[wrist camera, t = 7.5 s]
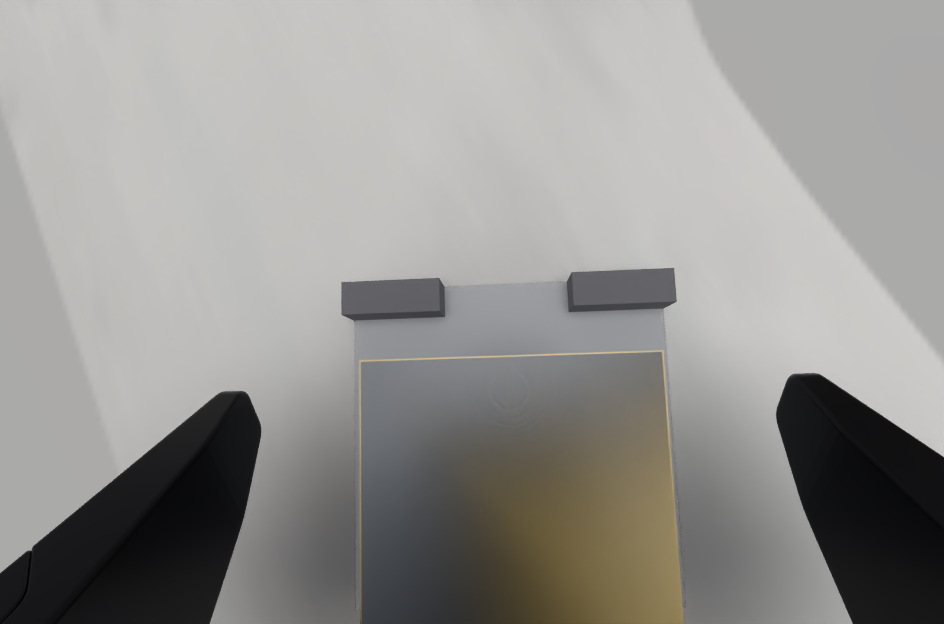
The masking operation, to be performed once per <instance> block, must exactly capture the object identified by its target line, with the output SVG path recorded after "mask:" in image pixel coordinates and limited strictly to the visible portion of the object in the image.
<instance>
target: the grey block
mask: <svg viewBox="0 0 944 624" xmlns="http://www.w3.org/2000/svg"><path fill="white" fill-rule="evenodd" d="M359 429H360V624H684V621H683V608H682V594H681V581H680V567H679V554H678V540H677V527H676V513H675V500H674V486H673V473H672V460H671V446H670V433H669V419H668V406H667V392H666V379H665V365H664V352H663V350H653V351H623V352H593V353H563V354H533V355H503V356H473V357H443V358H413V359H383V360H359Z"/></svg>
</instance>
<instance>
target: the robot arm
mask: <svg viewBox="0 0 944 624" xmlns="http://www.w3.org/2000/svg"><path fill="white" fill-rule="evenodd" d="M776 419H777V424H778V428H779V431H780V434H781V437H782V441H783V444H784V447H785V451H786V454H787V457H788V461H789V464H790V467H791V471H792V474H793V477H794V480H795V484H796V487H797V490H798V494H799V497H800V500H801V503H802V506H803V509H804V511H805V514H806V516H807V519H808V521H809V523H810V526H811V528H812V530H813V533H814V535H815V537H816V540H817V542H818V544H819V547H820V549H821V551H822V554H823V556H824V558H825V560H826V563H827V565H828V567H829V570H830V572H831V574H832V577H833V579H834V581H835V584H836V586H837V588H838V590H839V593H840V595H841V597H842V600H843V602H844V604H845V607H846V609H847V611H848V614H849V616H850V618H851V621H852V623H853V624H944V457H943V456H941V455H940V454H938V453H937V452H935V451H934V450H932V449H931V448H929V447H928V446H926V445H925V444H923V443H922V442H921V441H919V440H918V439H916V438H915V437H913V436H912V435H910V434H909V433H907V432H906V431H904V430H903V429H901V428H900V427H898V426H897V425H895V424H894V423H892V422H891V421H889V420H888V419H886V418H885V417H883V416H882V415H880V414H879V413H877V412H876V411H874V410H873V409H871V408H870V407H868V406H867V405H865V404H864V403H862V402H861V401H859V400H858V399H856V398H855V397H853V396H852V395H850V394H849V393H847V392H846V391H844V390H843V389H841V388H840V387H838V386H837V385H835V384H834V383H832V382H831V381H829V380H828V379H826V378H825V377H823V376H822V375H820V374H816V373H804V374H793V375H791V376H790V377H789V378H788V379H787V382H786V384H785V387H784V390H783V393H782V396H781V398H780V401H779V404H778V407H777V411H776ZM260 438H261V425H260V421H259V419H258V417H257V414H256V412H255V409H254V407H253V405H252V402H251V400H250V397H249V396H248V394H247V393H246V392H244V391H224V392H221V393H219V394H217V395H216V396H215V397H214V398H212V399H211V400H210V401H209V402H207V403H206V404H205V405H204V406H203V407H201V408H200V409H199V410H198V411H197V412H195V413H194V414H193V415H192V416H191V417H189V418H188V419H187V420H186V421H184V422H183V423H182V424H181V425H180V426H178V427H177V428H176V429H175V430H174V431H172V432H171V433H170V434H169V435H167V436H166V437H165V438H164V439H163V440H161V441H160V442H159V443H158V444H157V445H155V446H154V447H153V448H152V449H151V450H149V451H148V452H147V453H146V454H144V455H143V456H142V457H141V458H140V459H138V460H137V461H136V462H135V463H134V464H132V465H131V466H130V467H129V468H127V469H126V470H125V471H124V472H123V473H121V474H120V475H119V476H118V477H117V478H115V479H114V480H113V481H112V482H111V483H109V484H108V485H107V486H106V487H104V488H103V489H102V490H101V491H100V492H98V493H97V494H96V495H95V496H94V497H92V498H91V499H90V500H89V501H88V502H86V503H85V504H84V505H83V506H81V508H79V509H78V510H77V511H76V512H74V513H73V514H72V515H71V516H69V517H68V518H67V519H66V520H64V521H63V522H62V523H61V524H60V525H58V526H57V527H56V528H55V529H53V530H52V531H51V532H50V533H49V534H47V535H46V536H45V537H44V538H43V539H41V540H40V541H39V542H38V543H37V544H35V545H34V546H33V548H32V551H27V552H25V553H24V554H23V555H22V556H21V557H19V558H18V559H17V560H16V561H15V562H13V563H12V564H11V565H10V566H8V567H7V568H6V569H5V570H4V571H2V572H1V573H0V624H210V621H211V618H212V615H213V612H214V609H215V606H216V603H217V599H218V596H219V593H220V590H221V587H222V584H223V581H224V578H225V575H226V572H227V569H228V566H229V563H230V560H231V557H232V554H233V550H234V547H235V544H236V541H237V538H238V535H239V532H240V529H241V525H242V522H243V519H244V515H245V510H246V506H247V501H248V497H249V492H250V487H251V482H252V477H253V472H254V467H255V463H256V458H257V453H258V448H259V443H260Z"/></svg>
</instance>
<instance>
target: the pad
mask: <svg viewBox="0 0 944 624" xmlns="http://www.w3.org/2000/svg"><path fill="white" fill-rule="evenodd" d="M676 301H677V300H676V287H675V275H674V268H664V269H640V270H617V271H594V272H572V273H571V275H570V277H569V279H568V281H567V282H549V283H525V284H501V285H477V286H453V287H444V285H443V284H442V282H441V281H440V279H439V278H431V279H407V280H384V281H361V282H342V315H343V316H346V317H348V318H350V319H352V320H354V321H355V588H356V610H360V429H359V360H383V359H413V358H443V357H473V356H503V355H533V354H563V353H593V352H623V351H653V350H663V352H664V365H665V379H666V392H667V406H668V419H669V433H670V446H671V460H672V473H673V486H674V500H675V513H676V527H677V540H678V554H679V567H680V581H681V594H682V607H686V599H685V586H684V573H683V560H682V547H681V534H680V521H679V508H678V495H677V482H676V468H675V455H674V442H673V429H672V416H671V403H670V390H669V377H668V364H667V351H666V338H665V325H664V312H663V308H665V307H667V306H669V305H671V304H673V303H675V302H676Z"/></svg>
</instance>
